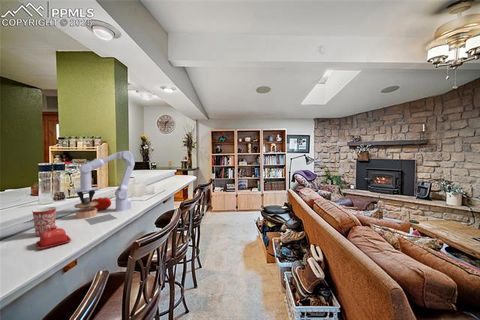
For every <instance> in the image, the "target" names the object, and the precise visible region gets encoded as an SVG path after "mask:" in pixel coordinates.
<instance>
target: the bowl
mask: <svg viewBox="0 0 480 320" xmlns="http://www.w3.org/2000/svg"><path fill="white" fill-rule="evenodd" d="M97 216H98V210H97V208H84V209H80V208H79V209H78V210H76V211H75V218H76V219H78V220H84V219H89V218H93V217H97Z"/></svg>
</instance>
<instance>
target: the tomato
mask: <svg viewBox="0 0 480 320" xmlns="http://www.w3.org/2000/svg"><path fill="white" fill-rule="evenodd" d="M91 202H98V205H96V206H94V207H91V208H97V211H102V210H106V209H109V208H110V207H111V205H112V201H111V199H110V198H109V197H106V196H104V197H98V198H94V199H93V198H92V201H91Z"/></svg>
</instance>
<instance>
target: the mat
mask: <svg viewBox="0 0 480 320" xmlns="http://www.w3.org/2000/svg"><path fill="white" fill-rule="evenodd" d="M117 219H118V218H117V217H116V216H114V215H112V214H110V213H108V214H103V215H100V216H98V215H97V216H94V217H91V218H85V219H83V220H84V221H86V222H87V223H88V224H90V225H91V226H92V225H96V224H100V223H105V222H109V221H112V220H117Z"/></svg>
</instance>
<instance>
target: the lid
mask: <svg viewBox="0 0 480 320" xmlns="http://www.w3.org/2000/svg"><path fill="white" fill-rule="evenodd" d="M83 200H84V204H82V203H81V202H80V203H77V204H74V209H75V208H76V209H79V210H80V209H85V208H91V207H94V206H96V205H98V202H90V197H89V196H88V197H83Z"/></svg>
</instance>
